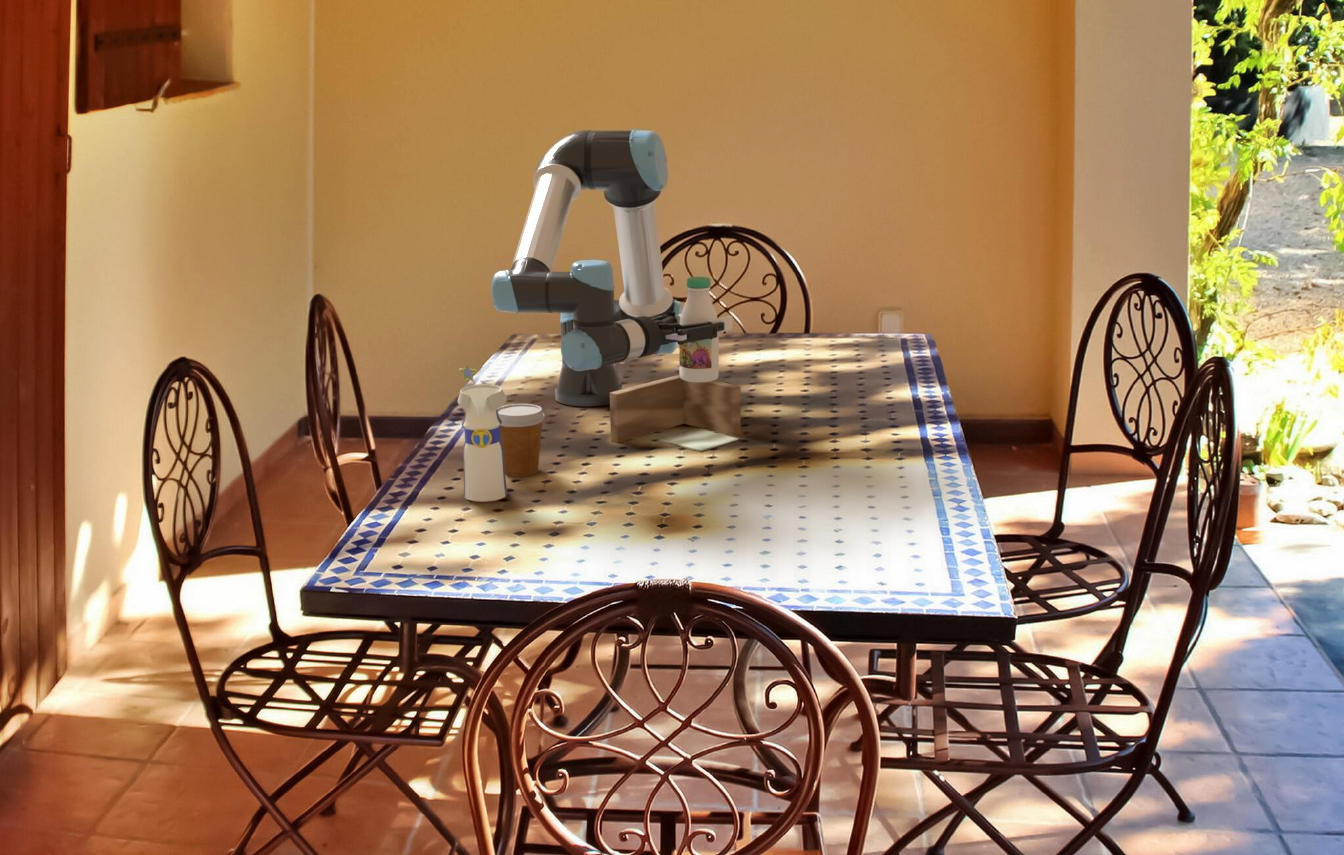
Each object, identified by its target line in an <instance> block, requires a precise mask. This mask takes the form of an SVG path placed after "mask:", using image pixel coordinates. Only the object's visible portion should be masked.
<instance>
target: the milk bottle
mask: <svg viewBox="0 0 1344 855" xmlns="http://www.w3.org/2000/svg"><path fill="white" fill-rule="evenodd" d="M711 286H712V285H711V278H710V277H707V276H691V277H688V278H687V279H686V287H687V288H686V290H687V298H686V301H685V303H684V305H683V307H682V313H681V316H680V325H687V324H697V323H706V322H707V321H708V320H712V319H717V318H719V317H718V314H717V311H716V309H715V306H714V304H713V301H712V299H711V296H710V294H711V293H710V290H711ZM719 334H720V333H717V337H716V338H713V339H705V340H699V341H694V342H689V343H686V344H682V345H679V348H678V350H679V352H678V354H679V362H678V364H679V367H678V368H679V375H680V378H681V379H682V380H684V381H688V382H709V381H717V380H718V378H719V374H720V373H719V370H720V369H719V368H720V367H719V366H720V364H719V361H720V358H719V356H720V355H719V354H720V353H719V352H720V350H719V349H720V348H719V347H720V345H719V344H720V342H719V340H720V338H719Z"/></svg>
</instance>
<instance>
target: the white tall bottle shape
mask: <svg viewBox="0 0 1344 855" xmlns="http://www.w3.org/2000/svg"><path fill="white" fill-rule="evenodd" d="M458 371H459V372H460V373H462V375H463V376H462V382H464V381H467V380H469V381H471V382H473V383H474V382H475V380H474V377H473V375H474V374H475V373H477V371H478V370H477V369H474V368H473V369H472V368H471V367H470V365H469V363H468V362H467V363H466V365H465V367H464V368H458ZM507 400H508V398H507V394H506V393H505V392H504V389H503V388H502V386H500V385H496V384H488V383H487V384H486V383H484V384H481V383H480V384H473V385H468V386H464V387H463V388H461V389H460V391H459V395H458V398H457V404H458V405H459V406H460V407H461V408H462V410H464V418H463V420H462V421H461V426H463V428H464V443H463V447H462V449H463V450H462V456H463V457H462V461H463V498H465V499H466V500H467V501H472V502H493V501H499V500H501V499H503V498H506V497H507V496H508V488H507V479H506V476H507V475H506V474H505V464H504V449H503V444H502V441H501V437H500V425H501V423H502V420H501V419H500V418H499V415H498V408H500V407H501V406H505V404H506V403H507Z"/></svg>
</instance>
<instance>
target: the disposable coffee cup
mask: <svg viewBox="0 0 1344 855" xmlns="http://www.w3.org/2000/svg"><path fill="white" fill-rule="evenodd" d="M498 415H499V418H500V419H501V420H502V423H501V425H500V437H501V441H502V444H503V449H504V464H505V475H506V476H511V477H528V476H532V475H534V474H536V473H537V472H538V471H539V463H540V462H539V461H540V453H541V452H540V451H541V450H540V449H541V440H542V429H543V421H544V418H545V413H544V412H543V408H542V406H540V405H536V404H531V403H512V404H506V405H505V404H504V405H503V406H501V407H500V408H498Z"/></svg>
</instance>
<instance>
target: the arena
mask: <svg viewBox="0 0 1344 855" xmlns="http://www.w3.org/2000/svg"><path fill="white" fill-rule="evenodd" d="M609 411H610V412H609V418H610V419H609V420H610V423H609V424H610V441H611V442H613V443H616V444H618V443H622V442H625V441H629V440H633V439H637V438H639V437H644V436H647V435H650V434H653V433H656V432H660V431H663V430H666V429H670V428H673V427H677V426H680V425H684V424H685V425H688V426H691V427H696V429H691V430H689V431H685V432H682V433H680V434H675V435H671V436H669V437H665V438H663V439H662V438H661V439H660V442H662V443H666V444H669V445H673V446H676V447H681V448H685V449H689V450H691V451H696V452H700V453H702V452H705V451H707V450H711V449H714V448H718V447H720V446H724V445H727V444H730V443H733V442H737V441H739V438H737V437H735V436H738V435H741V434H742V432H741V422H742V420H741V385H738V384H737V385H736V384H732V383H727V382H723V381H718V380H714V381H709V382H688V381H684V380H682V379H681V378H680V374H675V375H673V376H669V377H668V376H667V377H665V378H661V379H658V380H653V381H650V382H649V381H648V382H645V383H642V384H638V385H634V386H629V387H626V388H623V389H622V390H618V391H614V392H610V404H609Z"/></svg>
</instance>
